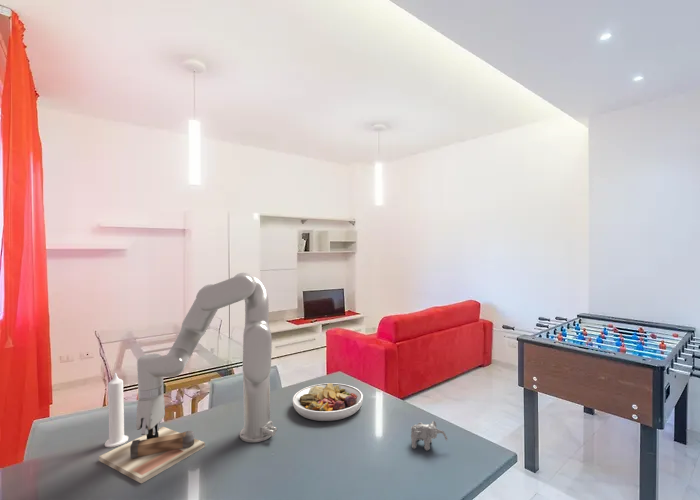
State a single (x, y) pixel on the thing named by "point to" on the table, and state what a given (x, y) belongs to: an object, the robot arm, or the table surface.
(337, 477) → the table surface
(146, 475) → the ash board
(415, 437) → the gray elephant figurine
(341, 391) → the bowl
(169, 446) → the bar
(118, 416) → the candle
